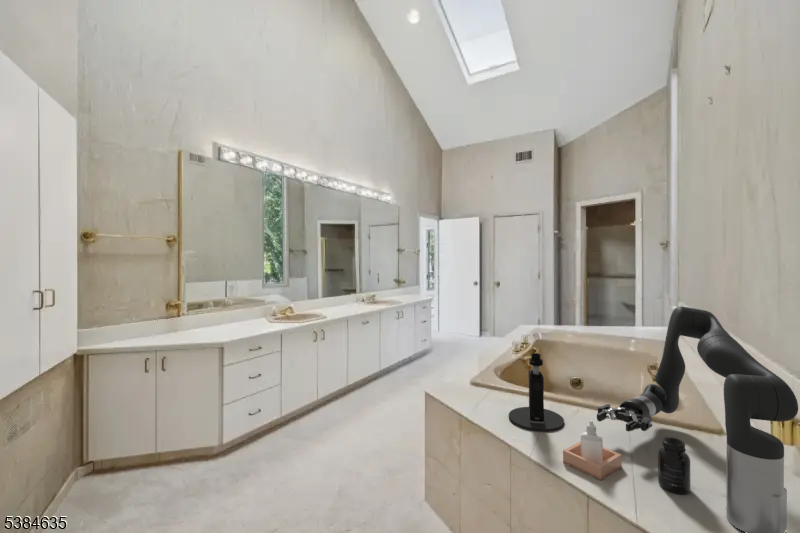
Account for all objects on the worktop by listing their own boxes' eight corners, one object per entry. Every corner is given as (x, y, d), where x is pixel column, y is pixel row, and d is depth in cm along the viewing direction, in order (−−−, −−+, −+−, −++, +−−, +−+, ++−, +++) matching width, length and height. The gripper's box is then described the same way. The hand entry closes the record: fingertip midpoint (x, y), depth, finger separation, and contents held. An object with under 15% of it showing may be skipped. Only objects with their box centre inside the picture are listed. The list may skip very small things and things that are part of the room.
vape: (509, 429, 133) (508, 358, 132) (507, 407, 151) (506, 345, 151) (568, 434, 128) (568, 360, 127) (559, 411, 147) (558, 346, 146)
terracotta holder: (621, 466, 108) (621, 454, 108) (600, 480, 102) (600, 467, 102) (584, 450, 117) (584, 439, 117) (563, 462, 111) (562, 450, 111)
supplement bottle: (659, 476, 103) (659, 432, 103) (691, 485, 99) (691, 439, 98) (656, 488, 98) (656, 442, 97) (689, 499, 93) (689, 450, 93)
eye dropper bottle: (597, 469, 106) (597, 426, 106) (578, 460, 111) (577, 419, 110) (605, 463, 109) (605, 422, 108) (586, 455, 113) (585, 415, 113)
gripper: (615, 392, 131) (589, 403, 122) (662, 405, 119) (637, 418, 110) (615, 413, 131) (589, 426, 122) (662, 429, 119) (637, 444, 110)
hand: (612, 422), depth 116 cm, fingers open, 8 cm apart
